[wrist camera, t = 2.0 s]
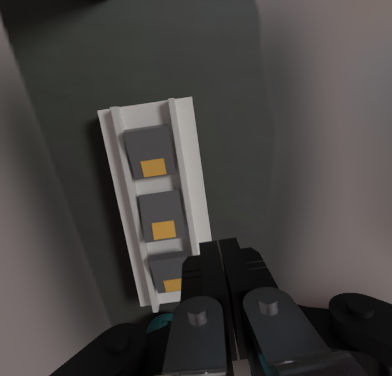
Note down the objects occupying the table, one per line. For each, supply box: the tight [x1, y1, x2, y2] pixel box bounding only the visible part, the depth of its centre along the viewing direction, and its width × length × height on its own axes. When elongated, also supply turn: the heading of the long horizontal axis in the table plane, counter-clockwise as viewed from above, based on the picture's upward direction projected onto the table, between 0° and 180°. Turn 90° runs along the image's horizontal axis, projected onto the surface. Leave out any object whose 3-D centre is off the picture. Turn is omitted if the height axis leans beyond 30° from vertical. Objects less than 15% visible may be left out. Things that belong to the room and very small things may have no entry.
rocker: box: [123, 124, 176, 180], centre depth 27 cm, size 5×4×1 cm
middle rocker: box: [139, 190, 186, 243], centre depth 29 cm, size 5×4×1 cm
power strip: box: [98, 97, 212, 313], centre depth 31 cm, size 24×10×5 cm, turn 8°
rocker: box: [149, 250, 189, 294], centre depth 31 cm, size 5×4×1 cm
